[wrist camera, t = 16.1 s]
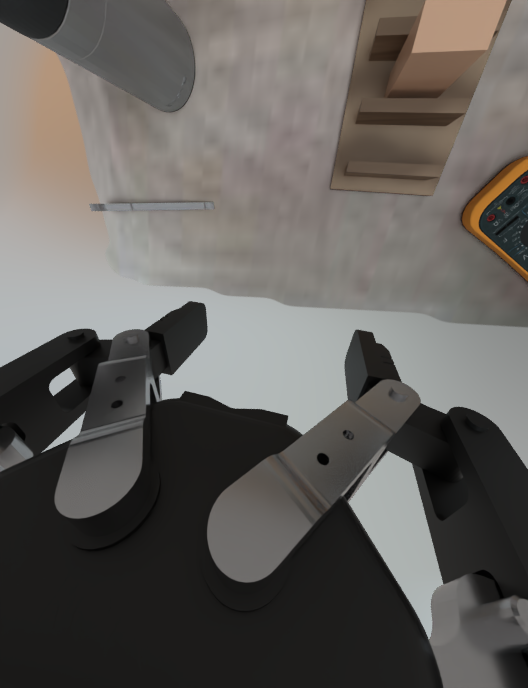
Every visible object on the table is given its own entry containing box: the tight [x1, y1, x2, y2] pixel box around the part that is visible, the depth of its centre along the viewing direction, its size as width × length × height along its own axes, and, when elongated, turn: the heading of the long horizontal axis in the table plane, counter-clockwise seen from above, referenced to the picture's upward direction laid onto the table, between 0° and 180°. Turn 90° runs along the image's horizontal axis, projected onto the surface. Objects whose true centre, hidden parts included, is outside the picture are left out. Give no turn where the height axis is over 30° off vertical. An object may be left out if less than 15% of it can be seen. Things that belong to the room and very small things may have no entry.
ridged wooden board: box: [330, 0, 512, 196], centre depth 23 cm, size 19×13×6 cm
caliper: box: [89, 202, 214, 211], centre depth 37 cm, size 20×1×6 cm, turn 92°
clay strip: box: [384, 0, 507, 98], centre depth 20 cm, size 2×5×11 cm, turn 87°
